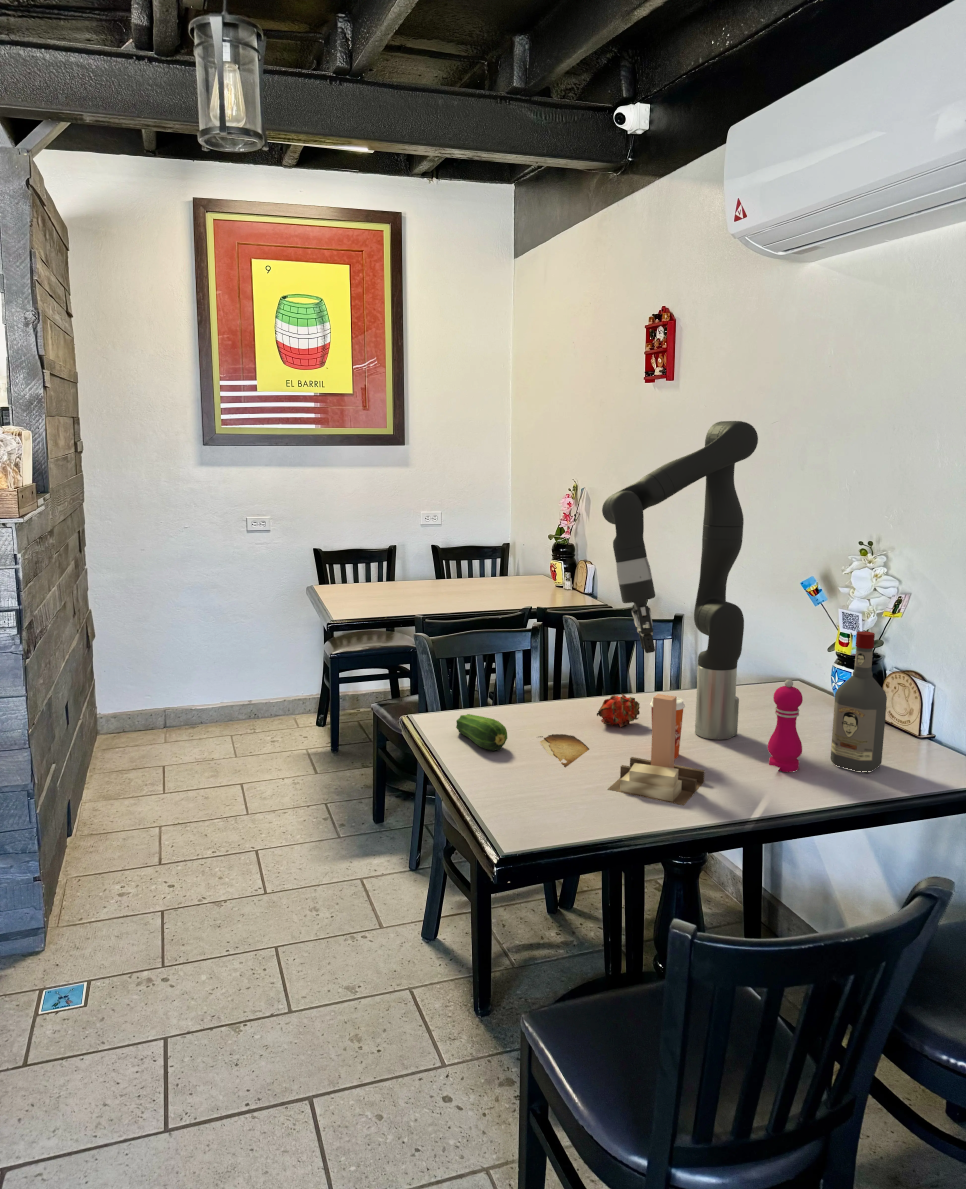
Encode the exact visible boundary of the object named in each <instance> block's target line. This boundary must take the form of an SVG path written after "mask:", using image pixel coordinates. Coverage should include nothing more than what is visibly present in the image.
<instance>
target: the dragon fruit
mask: <svg viewBox="0 0 966 1189" xmlns="http://www.w3.org/2000/svg"><path fill="white" fill-rule="evenodd" d="M620 695H621V696H619V695H614V694H613V695H610V698H607V699H604V700H603V702H602V705H601V706H600V708H599V710H598V711H597V712H596V717H600V718H601V720H600V722H601V723H603V725H609V726H615V725H619V728H623V727H624V726H627V725H630V722H634V721H636V720H639V718H640V717H639V715H640V714H641V713H640V708H641V706H640V703H641V702H640V703H639V702H638V701H637V700H636V698H635V697H633V696H630V697H627V695H625V694H624V693H621V694H620Z"/></svg>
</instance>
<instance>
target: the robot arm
mask: <svg viewBox="0 0 966 1189" xmlns="http://www.w3.org/2000/svg"><path fill="white" fill-rule="evenodd" d="M757 432H758V431H757V430H756V428H755V427H754V426H753V425H752V424H751V423H748V422H746V421H742V420H725V421H722V420H721V421H717V422H715V423H713V424H712V425H711V426H710V427H709V429H708V430H707V432H706V436H705V440H704V447H702V448H700V449H698V450H696V451H694V452H692V453H689V454H687V455H685V456H682V457H679V458H676V459H674V460H671V461H669V462H667V463H665V464H663V465H661V466H660V467H657V468H655V469H654V470H652V471H651V472H649V473H647V474H646V475H645V476H643V477H642V478H640V479H639V480H637V481H636V482H634V483H633V484H630V485H628V486H626V487H624V488H621V489H620V490H619V491H617V492H615V493H612V494H611V495H610V496H608V497H607V498H606V499H605V501H604V502H603V505H602V508H601V509H602V510H601V512H602V516H603V518H604V520H605V521H607V522H608V523H609V524H612V525H614V526H615V527H614V528H615V537H614V538H613V541H612V548H613V554H614V558H615V559H614V560H615V563H616V564H615V565H616V575H617V580H618V585H619V592H620V597H621V602H622V603H624V604H630V603H631V604H632V603H633V604H632V609H631V615H632V618H633V623H634V625H635V626H634V627H635V628H636V632H637V633H638V637H639V640H640V646H641V650H644V652H645V653H646V654H650V653H655V652H656V647H655V642H654V637H653V635H654V634H653V633H654V628H653V626H654V625H653V620H652V619H653V618H652V611H651V608H650V607H649V605H647V601H648V600H652V599H654V598H656V592H655V586H654V581H653V576H652V571H651V570H652V568H651V566H650V562H649V559H648V556H647V551H646V550H647V549H646V543H645V541H644V531H645V530H644V525H645V524H644V522H645V521H644V519H645V518H644V511H645V510H647V509H649V508H651V507H653V506H654V507H655V506H656V505H657V506H658V505H659V504H661V503H662V502H664V501H666V500H667V499H669V498H670V497H673V496H674V495H676V494H677V493H678V492H680V491H682V490H684V489H685V488H687V487H688V486H690V485H692V484H694V483H695V482H697V481H700V479H703V478H705V492H704V511H703V521H702V522H703V523H702V539H701V557H700V558H701V559H700V571H699V579H698V580H699V581H698V588H697V593H696V599H695V604H694V613H693V621H694V625H695V627H696V629H697V630H698V631H699V632H700V633H702V634H703V635H705V636H707V637H708V640H707V649H706V650H703V651H701V652H699V654H698V656H697V673H696V674H697V675H696V676H697V677H696V697H695V698H696V701H695V720H694V721H695V723H694V734H695V735H697V736H699V737H700V738H704V739H709V740H728V739H731V738H733V737H734V736H738V729H739V709H740V708H739V706H740V705H739V704H740V698H739V696H737V676H738V675H737V674H738V661H739V659H740V658H741V655H742V650H743V640H744V632H745V618H744V614H743V611H742V609H741V608H740V606H738V605H736V603H732V602H729V601H727V596H726V595H727V583H728V578H729V574H730V571H731V569H732V568H733V566H734V564H735V561H736V560H737V558H738V556H739V555H740V552H741V550H742V545H743V539H744V538H743V535H744V525H745V524H744V523H745V522H744V514H743V513H744V512H743V509H742V506H741V503H740V499H739V497H738V493H737V490H736V487H735V465H736V463H738V462H741V461H743V460H744V461H745V460H746V459H748V458H750V457H751V456H752V455H753V454H754V452H755V450H756V449H757V447H758V443H759V436H758V433H757Z"/></svg>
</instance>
